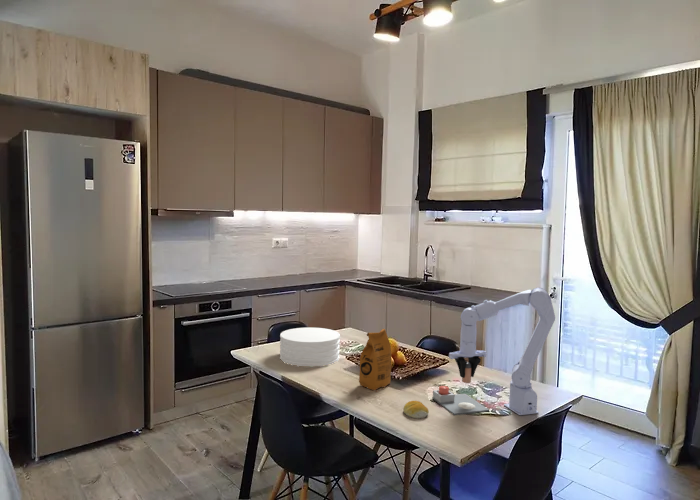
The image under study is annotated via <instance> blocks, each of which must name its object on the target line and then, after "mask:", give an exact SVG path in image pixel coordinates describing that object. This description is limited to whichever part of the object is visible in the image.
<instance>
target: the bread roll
mask: <svg viewBox="0 0 700 500" xmlns="http://www.w3.org/2000/svg"><path fill="white" fill-rule="evenodd" d="M402 409H403V413H404V414H405V415H406V417H409V418H413V419H423V418H426V417H427V416H428V415H429V408H428V407H427V406H425V405H424V403H423V402H421V401H419V400H411V401H408V402H406V403H405V404H404V405H403V408H402Z"/></svg>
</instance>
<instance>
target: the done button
mask: <svg viewBox="0 0 700 500" xmlns="http://www.w3.org/2000/svg"><path fill="white" fill-rule="evenodd" d="M438 390H439V394H441V395H447V394H449V391H450V387H449V386H447V385H440V386H438Z"/></svg>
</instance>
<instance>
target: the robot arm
mask: <svg viewBox="0 0 700 500" xmlns="http://www.w3.org/2000/svg"><path fill="white" fill-rule="evenodd" d="M529 304H530V305H531V306H532V308H533V309H535V311H536V312H537V314H538V317H539V319H538V322H537V324H536V326H535V328H534V329H533V332H532V335H531V337H530V338H529V341H528V343H527V345H526V347H525V349H524V351H523V354H522V355H521V357H520V358H519V360H518V361H517V363H516V364H515V365H513V367H512V373H511V380H510V383H509V398H508V399H509V400H508V401H509V403H504V404H503V406H504V407H506V408H508V409H509V410H510V411H513V412H514V413H515V414H517V415H518V416H527V415H534V414H535V415H536V414H539V411H538V394H537V392H536V391H535V390H534V389H533V386H532V383H531V373H532V371H533V369H534V367H535V363H536V360H537V359H538V356H539V355H540V352H541V351H542V349H543V346H544V344H545V342H546V340H547V338H548V335H549V333H550V331H551V329H552V327H553V325H554V323H555V321H556V315H555V309H554V307H553V302H552V298H551V296H550V294H549V293H548V291H547V290H546V289H545V288H543V287H535V288H533V289H526V290H523V291H520V292H518V293H515V294H512V295H509V296H507V297H505V298H503V299H499V300H497V301H494V300H492V299H490V300H488V299H485V300H483V302H482V303H478V304H476V305H474V304H473V305H471V306H470V307H466V308H464V309H463V311H462V312H461V314H460V320H461V325H460V326H461V327H460V337H459V338H460V339H459V341H460V342H459V343H460V344H459V350H457V351H453V352H449V353H448V358H449V359H450V360H455V362H456V365H457V368H458V371H459V377H461V379H462V378H465V368H466V364H467V362H470V363H472V368H471V378H474V376H475V373H476V370H477V368H478V366H479V364H480V362H481V358H480V357H484V358H485V357H486V358H487V351H486V350H481V349H480V350H478V349H477V331H478V330H477V322H478V321H484V320H486V319H490V318H492V317H495V316H497V315H498V314H499V311H501V310H505V309H508V308H512V307H514V306H518V305H523V306H527V307H529ZM466 359H468V361H467V360H466Z"/></svg>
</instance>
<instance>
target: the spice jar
mask: <svg viewBox="0 0 700 500" xmlns="http://www.w3.org/2000/svg"><path fill="white" fill-rule="evenodd" d="M471 368H472V363H470V362H469V361H467V364H466V368H465V378H462V377H461V382H462V383H465V384H469V383H471V382H472V377H471Z"/></svg>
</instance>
